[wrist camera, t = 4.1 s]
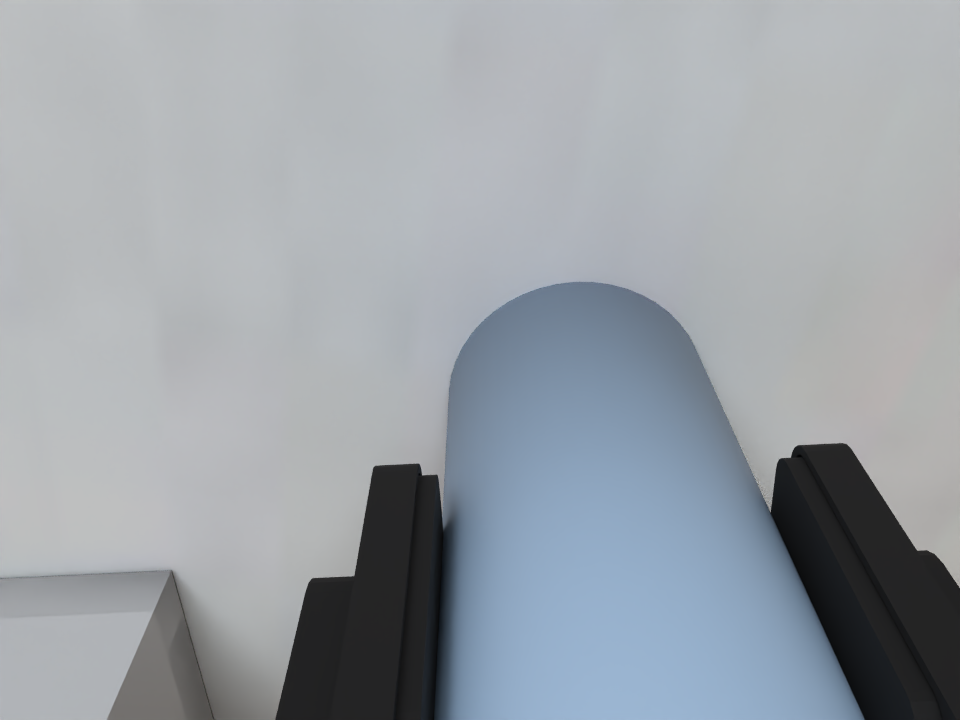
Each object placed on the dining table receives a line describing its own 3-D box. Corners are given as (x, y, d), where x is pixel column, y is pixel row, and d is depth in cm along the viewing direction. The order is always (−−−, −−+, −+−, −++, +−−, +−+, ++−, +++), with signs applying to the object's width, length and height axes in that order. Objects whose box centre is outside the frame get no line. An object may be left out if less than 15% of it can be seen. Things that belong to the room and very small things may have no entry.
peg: (711, 274, 13) (1612, 1836, 3) (695, 494, 15) (1193, 1916, 5) (440, 289, 13) (300, 1856, 3) (458, 506, 15) (414, 1927, 5)
